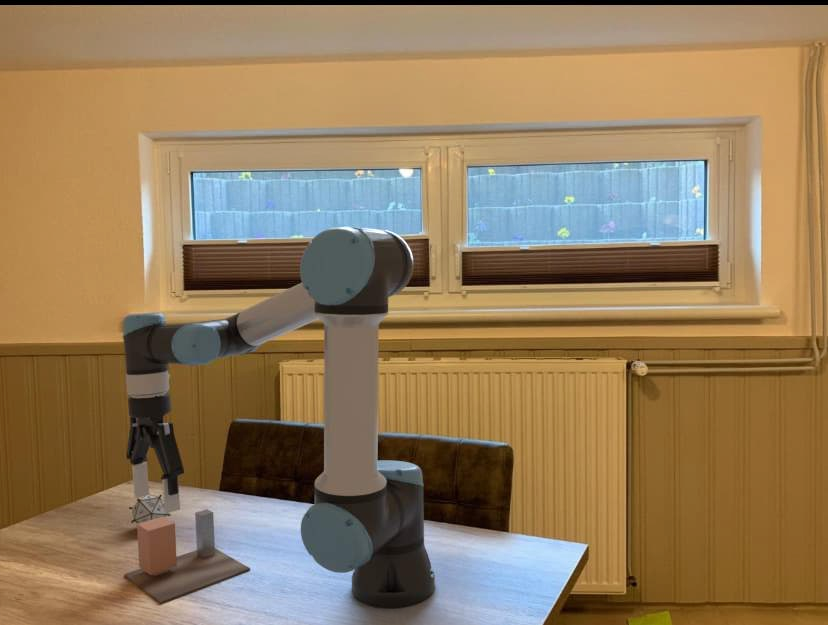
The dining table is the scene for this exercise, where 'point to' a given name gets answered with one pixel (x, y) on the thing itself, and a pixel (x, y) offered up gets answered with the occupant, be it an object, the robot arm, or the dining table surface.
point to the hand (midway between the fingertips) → (156, 503)
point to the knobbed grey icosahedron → (148, 509)
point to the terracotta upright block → (156, 545)
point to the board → (187, 575)
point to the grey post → (205, 534)
